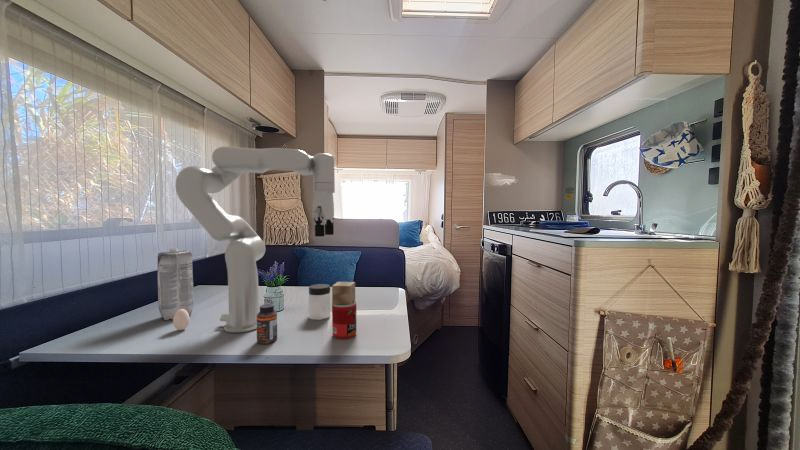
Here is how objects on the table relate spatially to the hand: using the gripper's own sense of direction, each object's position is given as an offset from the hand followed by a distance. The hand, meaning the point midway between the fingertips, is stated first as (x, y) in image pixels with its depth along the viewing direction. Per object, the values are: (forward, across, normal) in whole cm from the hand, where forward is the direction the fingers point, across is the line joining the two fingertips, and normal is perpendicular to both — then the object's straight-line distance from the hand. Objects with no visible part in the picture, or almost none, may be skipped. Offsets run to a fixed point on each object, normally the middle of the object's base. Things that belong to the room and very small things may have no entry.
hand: (324, 235), depth 109 cm
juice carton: (+32, -2, -62) cm, 70 cm away
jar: (+32, -7, -5) cm, 34 cm away
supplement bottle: (+32, +17, -13) cm, 39 cm away
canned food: (+32, +10, +10) cm, 35 cm away
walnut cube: (+21, +10, +10) cm, 26 cm away
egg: (+32, +11, -48) cm, 59 cm away
